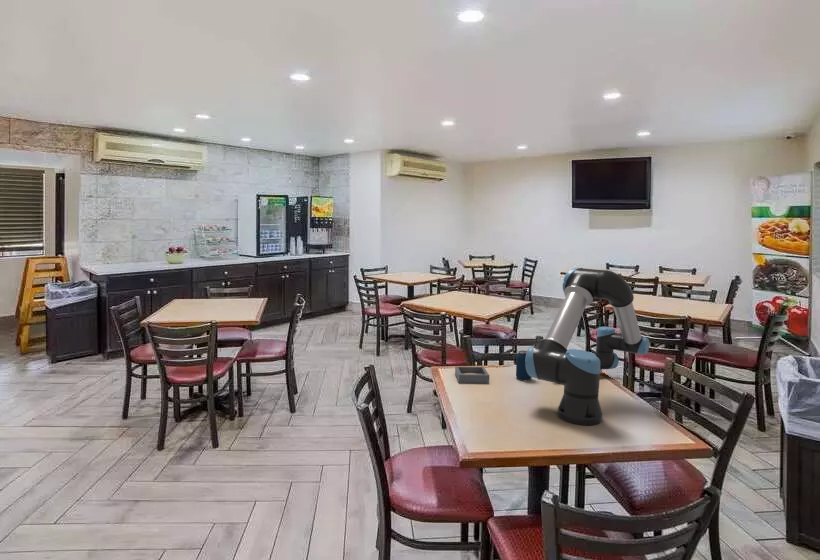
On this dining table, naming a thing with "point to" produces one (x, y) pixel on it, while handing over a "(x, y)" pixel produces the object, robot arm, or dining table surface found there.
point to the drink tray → (471, 374)
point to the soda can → (521, 366)
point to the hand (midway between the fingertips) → (542, 363)
